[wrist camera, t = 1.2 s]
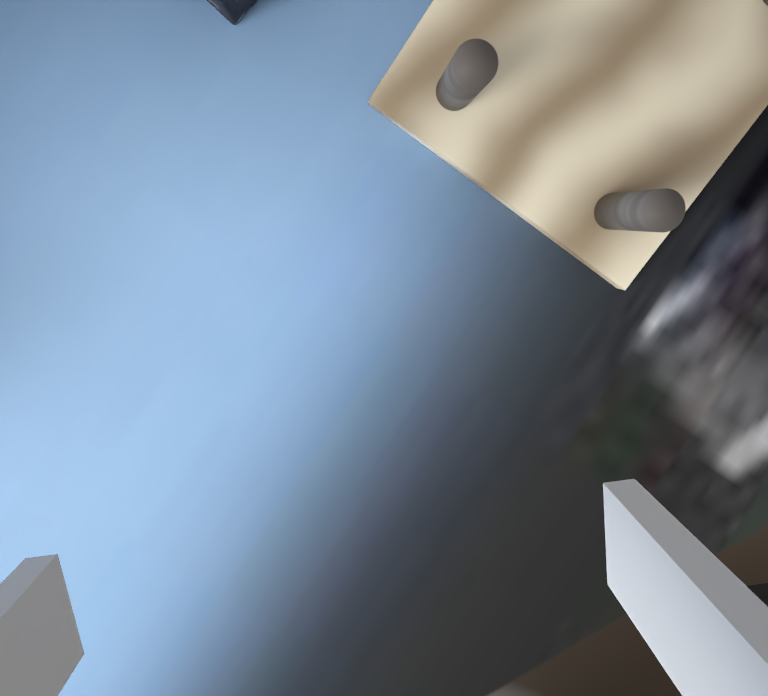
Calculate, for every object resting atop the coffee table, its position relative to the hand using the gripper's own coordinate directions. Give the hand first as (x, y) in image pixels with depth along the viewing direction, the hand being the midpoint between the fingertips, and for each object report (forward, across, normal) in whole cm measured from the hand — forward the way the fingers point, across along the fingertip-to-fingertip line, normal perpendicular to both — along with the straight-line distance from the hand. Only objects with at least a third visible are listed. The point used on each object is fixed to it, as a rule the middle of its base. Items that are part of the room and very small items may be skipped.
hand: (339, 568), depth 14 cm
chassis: (+22, +16, +16) cm, 32 cm away
